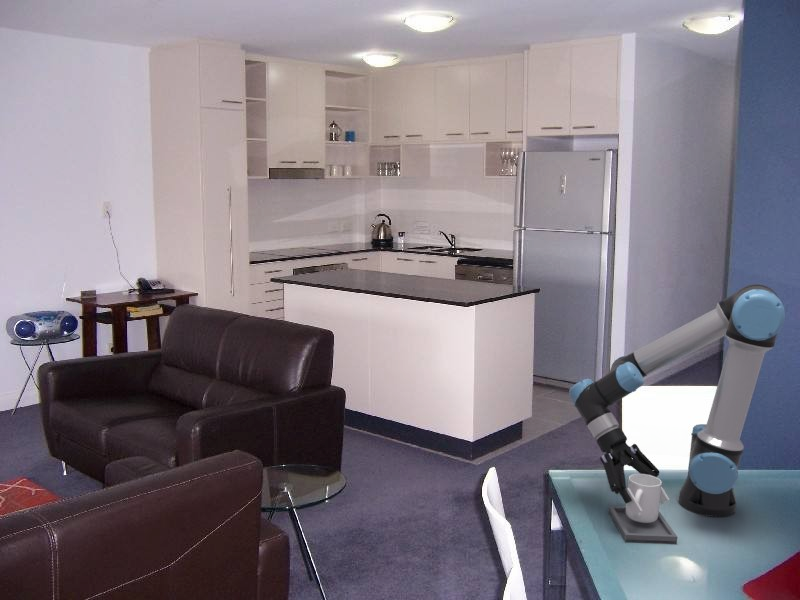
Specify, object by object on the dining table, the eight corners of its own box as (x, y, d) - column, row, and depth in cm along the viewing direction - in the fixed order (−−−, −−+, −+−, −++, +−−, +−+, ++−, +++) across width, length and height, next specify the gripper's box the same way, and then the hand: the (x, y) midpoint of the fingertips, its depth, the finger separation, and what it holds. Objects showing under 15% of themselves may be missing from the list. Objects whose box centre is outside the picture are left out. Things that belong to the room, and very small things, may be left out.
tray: (656, 514, 222) (656, 507, 221) (676, 544, 205) (677, 536, 205) (608, 513, 222) (609, 506, 221) (625, 542, 205) (625, 534, 205)
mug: (648, 531, 206) (652, 493, 204) (616, 522, 210) (620, 485, 209) (661, 515, 216) (665, 478, 214) (630, 507, 220) (634, 471, 219)
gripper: (624, 431, 229) (667, 502, 220) (570, 448, 214) (614, 525, 205) (642, 419, 224) (687, 490, 215) (589, 435, 209) (634, 513, 200)
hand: (651, 507), depth 210 cm, fingers closed on mug, 11 cm apart
